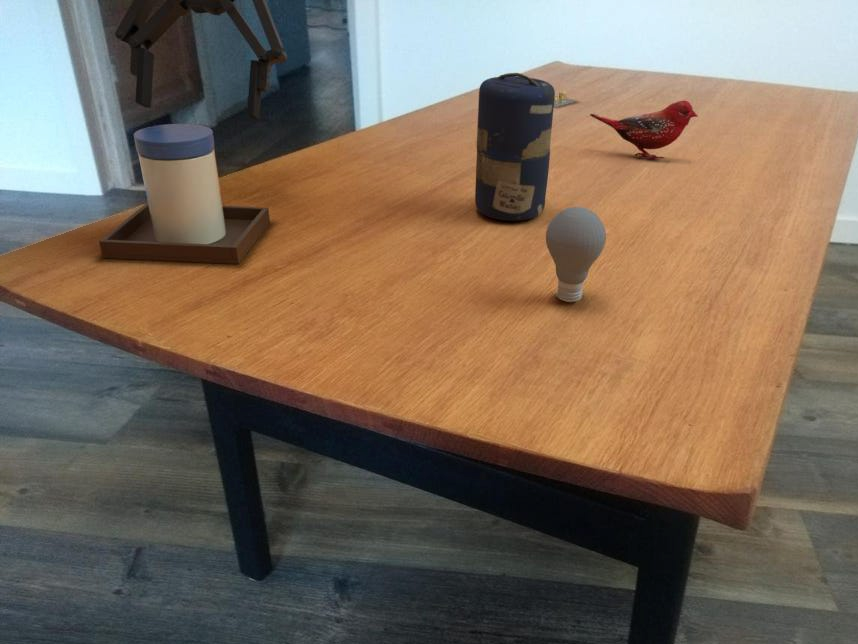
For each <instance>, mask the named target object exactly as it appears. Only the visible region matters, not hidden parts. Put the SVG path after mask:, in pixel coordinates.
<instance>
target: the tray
mask: <svg viewBox="0 0 858 644" xmlns="http://www.w3.org/2000/svg"><path fill="white" fill-rule="evenodd" d="M222 206H223V213H224V220H225V227H226V235H225V236H224V237H223V238H222V239H220V240H219V241H216V242H214V243H211V244H190V243H168V242H157V241H156V240H155V237H154V232H153V227H152V221H151V216H150V211H149V206H148V201H147V202H145V203H144V204H143V205H142V206H141V207H139V208H138V209H137V210H136V211H134V213H132V214H131V215H130V216H128V217H127V218H126V219H125V220H124V221H122V222H121V223H119V224H118V225H117V226H116V227H115V228H113V229H112V230H111V231H109V232H108V233H107V234H106V235H105V236H103V237H102V238H101V239H100V240H98V243H99V248H100V252H101V256H102V258H103V259H113V260H114V259H116V260H139V261H163V262H186V263H204V264H205V263H207V264H227V265H228V264H229V265H240V263H241V261H242V260H243V259H244V258H245V256H246V255H247V253H248V252H249V251H250V250H251V249H252V247H253V246H254V244H255V243H256V242H257V240H258V239H259V238H260V237H261V236H262V234H263V233H264V231H266V228H267V227H268V225H270V223H271V220H270V210H269V207H266V206H265V207H262V206H242V205H241V206H240V205H222Z"/></svg>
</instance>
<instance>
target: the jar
mask: <svg viewBox="0 0 858 644" xmlns="http://www.w3.org/2000/svg"><path fill="white" fill-rule="evenodd" d="M137 155H138V159H139V164H140V170H141V175H142V180H143V186H144V190H145V196H146V200H147V202H148V206H149V211H150V216H151V221H152V227H153V232H154V237H155V240H156V241H157V242H168V243H190V244H211V243H214V242H216V241H219V240H220V239H222V238H223V237H224V236H225V235H226V227H225V220H224V213H223V206H224V205H223V200H222V193H221V186H220V179H219V173H218V165H217V158H216V151H215V149H214V150H213V151H211V152H209V153H207V154H204V155H200V156H196V157H190V158H182V159H156V158H149V157H145V156H142V155H140V154H138V153H137Z"/></svg>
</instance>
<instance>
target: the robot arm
mask: <svg viewBox="0 0 858 644" xmlns="http://www.w3.org/2000/svg"><path fill="white" fill-rule="evenodd" d="M158 1H159V0H132V2H131V4H130V5H129V7H128V9H127V11H126V12H125V14H124V16H123V18H122V19H121V21H120V23H119V25H118V26H117V28H116V29H115V32H114V35H115V38H116V39H118V40H119V41H120V42H122V43H124V44H125V45H126V46H129V47H130V62H129V63H130V64H129V71H130V74H131V75H132V76H133V77H135V78H136V83H135V84H136V85H135V87H136V88H135V100H134V101H135V102H134V103H136V104H138V105H140V106H141V107H143V108H146V109H147V108H148V109H151V108H152V97H153V95H152V94H153V81H154V80H153V79H154V65H155V64H154V63H155V62H154V61H155V54H154V53H152V52H151V51H150V49H151V48H152V46H153V45H154V44H155V43H157V41H158V40H159V39H160V38H161V37H162V36H163V35H164V34H165V33H166V32H167V31H168V30H169V29H170V28H171V27H172V26H173V25H174V24H175V23H176V22H177V21H178V20H179V19H180V18H181V17H182V16H186V14H187V13H189V11H192V12H194V13H195V14H207V13H208V14H209V15H213V16H221V15H222V14H225V13H226V14H227V15H228V17H229V18H230V20H231V21H232V23H233V24H234V25H235V27H236V28H237V30H238V31H239V33H240V34H241V35H242V37H243V39H244V41H246V43H247V45H248V46H249V47H250V49H251V50H252V51H253V53H254V55H255V56H256V58H257V59H258V60H257V59H251V60H250V65H249V66H250V67H249V79H248V81H249V82H248V92H247V93H248V96H247V97H248V98H247V107H246V108H247V109H246V115H247V116H248V117H249V118H251V119H252V120H256V121H260V117H261V105H262V104H261V103H262V102H261V101H262V92H263V93H268V92H269V90H270V87H271V75H272V73H271V72H272V67H273V66H274V65H275V64H279V63H281V64H285V63H286V62H287V60H288V54H287V52H286V50H285V47H284V45H283V42H282V40H281V37H280V34H279V32H278V30H277V29H278V28H277V26H276V23H275V21H274V19H273V16H272V13H271V11H270V8H269V6H268V4H267V0H251V1H252V3H253V4H252V5H253V6H254V9H255V11H256V14H257V16H258V19H259V22H260V24H261V27H262V29H263V32H264V34H265V37H266V40H267V42H268V45H269V47H270V50H266V48H265V47H264V45H263V44H262V42H261V41H260V39H259V38H258V37H257V34H256V33H255V32H254V31H253V29H252V28H251V27H250V25H249V23H248V22H247V21H246V19H245V18H244V16H243V14H242V13H241V12H240V10H239V8H238V7H237V6H236V4H235V3H234V2H235V1H236V0H165V2H164V3H163V4H162V5H161V6H160V7H159V8H158V9H157V10H156V11H155V12H154V13H153V14H152V15H151V13H152V11H153V9H154V8H155V6H156V5H157V3H158ZM150 15H151V16H150ZM149 16H150V18H149Z"/></svg>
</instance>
